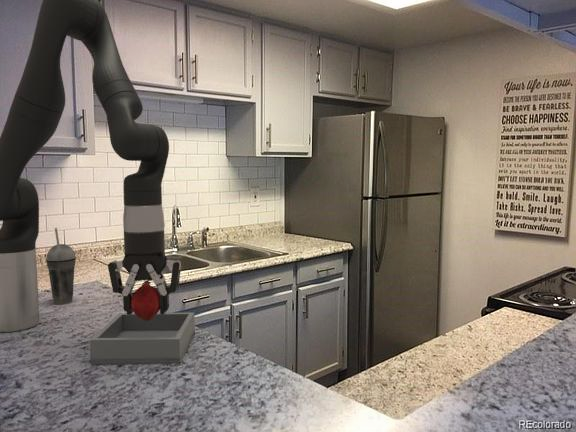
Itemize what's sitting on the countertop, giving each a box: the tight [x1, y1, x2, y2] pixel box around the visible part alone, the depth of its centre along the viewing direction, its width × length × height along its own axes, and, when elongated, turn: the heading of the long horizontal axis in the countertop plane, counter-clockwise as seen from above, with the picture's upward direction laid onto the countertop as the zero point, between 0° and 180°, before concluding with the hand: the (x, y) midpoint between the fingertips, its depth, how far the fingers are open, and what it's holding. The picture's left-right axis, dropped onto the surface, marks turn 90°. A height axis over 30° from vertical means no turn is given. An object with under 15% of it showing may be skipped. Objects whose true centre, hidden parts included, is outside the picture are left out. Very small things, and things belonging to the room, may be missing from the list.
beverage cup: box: [45, 227, 77, 306], centre depth 124 cm, size 7×7×20 cm
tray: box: [89, 312, 196, 365], centre depth 92 cm, size 16×16×4 cm
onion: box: [131, 280, 161, 321], centre depth 92 cm, size 6×6×8 cm
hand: (146, 312), depth 92 cm, fingers closed on onion, 6 cm apart
